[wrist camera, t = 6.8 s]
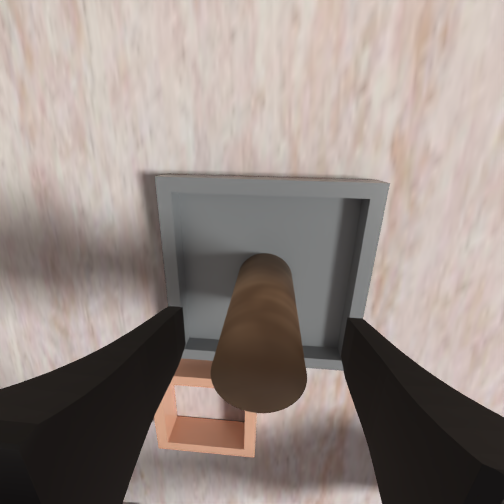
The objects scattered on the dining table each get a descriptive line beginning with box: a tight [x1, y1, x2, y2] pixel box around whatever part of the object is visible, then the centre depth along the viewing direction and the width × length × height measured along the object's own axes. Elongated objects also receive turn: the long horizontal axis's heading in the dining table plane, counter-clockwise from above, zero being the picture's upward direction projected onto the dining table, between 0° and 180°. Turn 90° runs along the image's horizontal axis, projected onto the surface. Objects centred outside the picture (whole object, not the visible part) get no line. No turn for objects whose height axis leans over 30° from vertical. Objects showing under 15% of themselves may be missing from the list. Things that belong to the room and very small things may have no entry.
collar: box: [154, 358, 257, 457], centre depth 20 cm, size 8×8×2 cm
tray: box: [155, 174, 390, 371], centre depth 16 cm, size 12×12×2 cm
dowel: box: [211, 253, 307, 413], centre depth 13 cm, size 3×3×8 cm
